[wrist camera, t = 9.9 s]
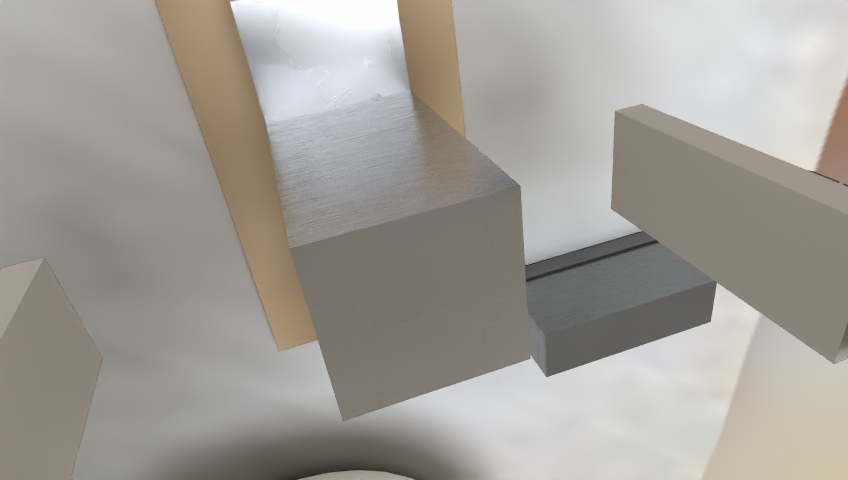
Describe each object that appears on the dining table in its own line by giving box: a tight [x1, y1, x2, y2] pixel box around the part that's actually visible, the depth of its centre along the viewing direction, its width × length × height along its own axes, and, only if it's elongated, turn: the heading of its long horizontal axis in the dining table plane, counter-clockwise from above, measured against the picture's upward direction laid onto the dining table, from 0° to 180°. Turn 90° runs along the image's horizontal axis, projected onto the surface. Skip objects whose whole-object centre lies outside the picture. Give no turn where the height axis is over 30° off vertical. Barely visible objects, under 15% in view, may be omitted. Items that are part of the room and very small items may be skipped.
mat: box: [155, 0, 466, 351], centre depth 18 cm, size 8×14×1 cm, turn 8°
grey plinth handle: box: [525, 231, 717, 377], centre depth 18 cm, size 8×19×4 cm, turn 8°
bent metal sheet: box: [230, 0, 530, 421], centre depth 14 cm, size 4×10×9 cm, turn 8°
